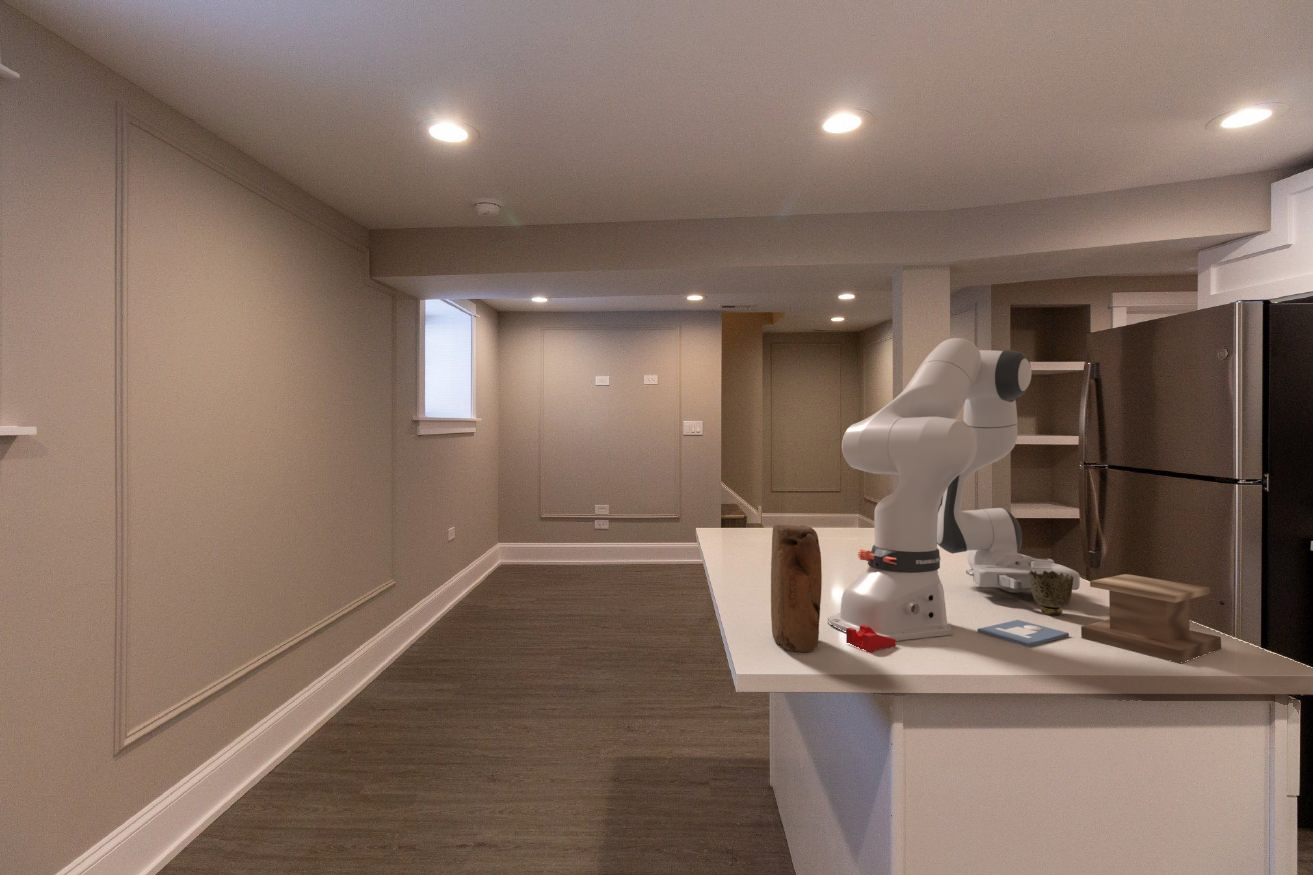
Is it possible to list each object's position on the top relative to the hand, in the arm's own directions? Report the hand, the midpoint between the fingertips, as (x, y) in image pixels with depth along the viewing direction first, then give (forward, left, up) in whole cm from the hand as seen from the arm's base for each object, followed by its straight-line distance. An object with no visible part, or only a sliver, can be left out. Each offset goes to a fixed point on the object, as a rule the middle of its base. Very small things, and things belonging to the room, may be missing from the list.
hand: (1042, 585), depth 122 cm
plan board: (-20, -8, -5) cm, 22 cm away
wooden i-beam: (-6, -21, -5) cm, 22 cm away
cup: (-2, -3, -5) cm, 6 cm away
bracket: (-48, +1, -6) cm, 48 cm away
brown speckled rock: (-59, +7, -5) cm, 59 cm away
